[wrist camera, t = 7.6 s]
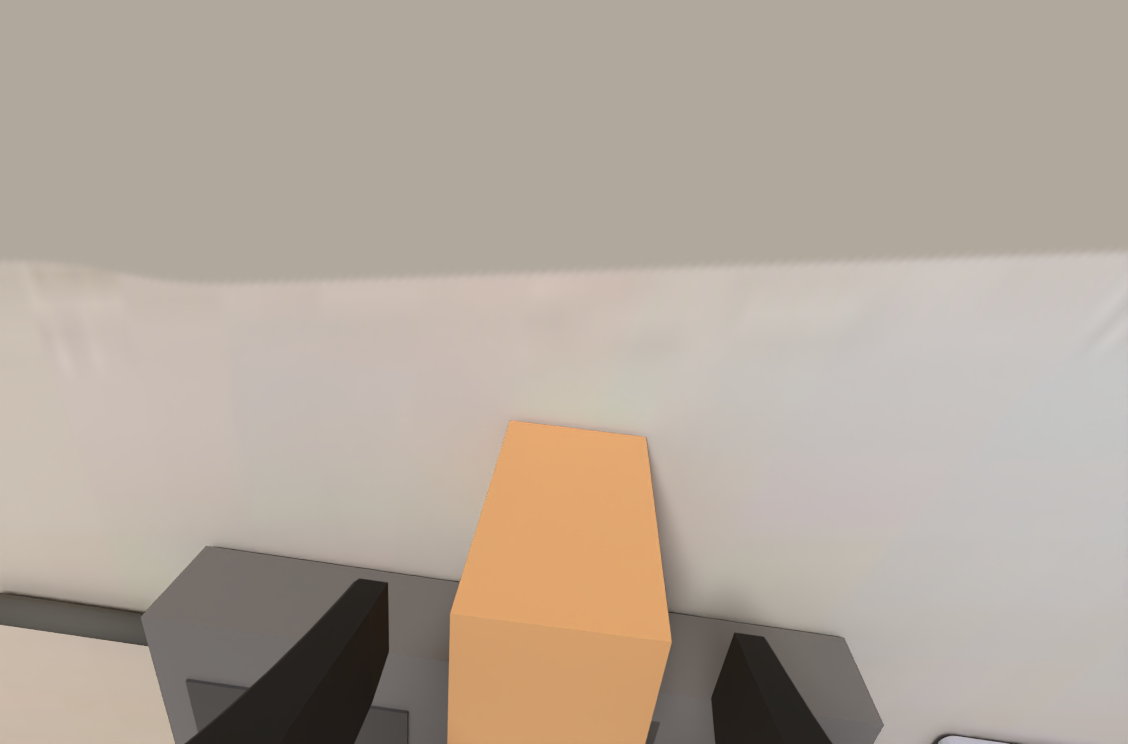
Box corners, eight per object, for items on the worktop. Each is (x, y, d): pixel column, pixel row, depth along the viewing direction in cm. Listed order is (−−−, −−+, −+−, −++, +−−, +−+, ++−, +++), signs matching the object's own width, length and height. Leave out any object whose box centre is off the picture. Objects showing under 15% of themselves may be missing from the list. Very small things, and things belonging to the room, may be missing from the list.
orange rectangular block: (645, 437, 16) (671, 642, 10) (625, 542, 18) (636, 775, 12) (510, 420, 16) (449, 613, 10) (502, 527, 18) (447, 750, 12)
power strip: (844, 637, 19) (885, 728, 16) (777, 777, 22) (802, 872, 20) (-51, 508, 19) (-163, 575, 17) (16, 666, 23) (-67, 744, 20)
